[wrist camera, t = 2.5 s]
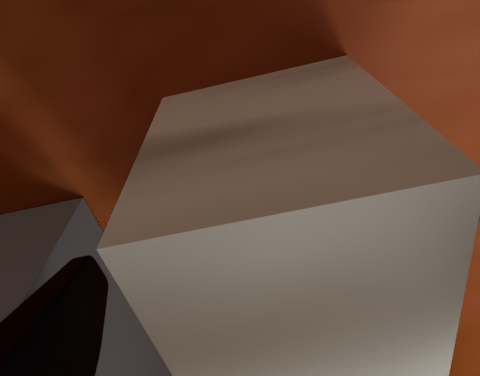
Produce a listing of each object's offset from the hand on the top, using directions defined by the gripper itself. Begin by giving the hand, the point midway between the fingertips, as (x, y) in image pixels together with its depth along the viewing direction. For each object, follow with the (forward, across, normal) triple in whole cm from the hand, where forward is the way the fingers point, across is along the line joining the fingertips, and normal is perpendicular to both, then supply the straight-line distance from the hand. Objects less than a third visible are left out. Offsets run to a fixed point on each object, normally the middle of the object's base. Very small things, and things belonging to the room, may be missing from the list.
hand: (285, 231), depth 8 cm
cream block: (+3, 0, 0) cm, 3 cm away
